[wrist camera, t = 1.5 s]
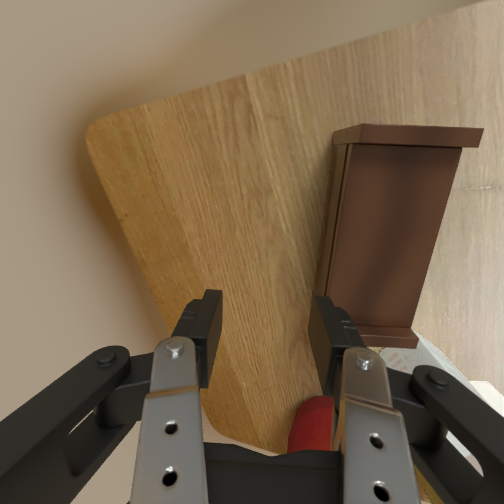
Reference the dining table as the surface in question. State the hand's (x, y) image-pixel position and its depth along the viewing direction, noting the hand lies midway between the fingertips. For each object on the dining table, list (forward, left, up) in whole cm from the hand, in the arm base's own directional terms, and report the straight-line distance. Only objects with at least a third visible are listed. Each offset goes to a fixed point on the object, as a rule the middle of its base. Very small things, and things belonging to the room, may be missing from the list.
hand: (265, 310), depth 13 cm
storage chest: (-3, +10, -17) cm, 20 cm away
